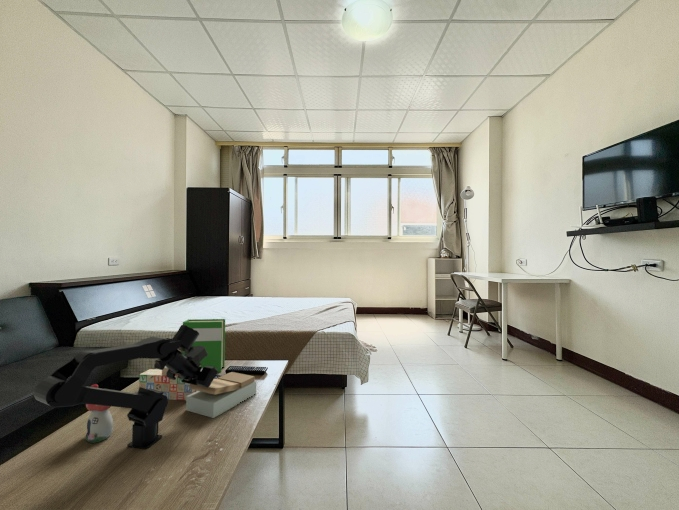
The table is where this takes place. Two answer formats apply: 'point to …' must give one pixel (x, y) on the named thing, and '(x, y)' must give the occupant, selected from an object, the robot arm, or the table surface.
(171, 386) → the stack of blocks
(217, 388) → the board
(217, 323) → the hardback book
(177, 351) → the robot arm
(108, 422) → the decorative ornament
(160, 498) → the table surface
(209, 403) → the white box
